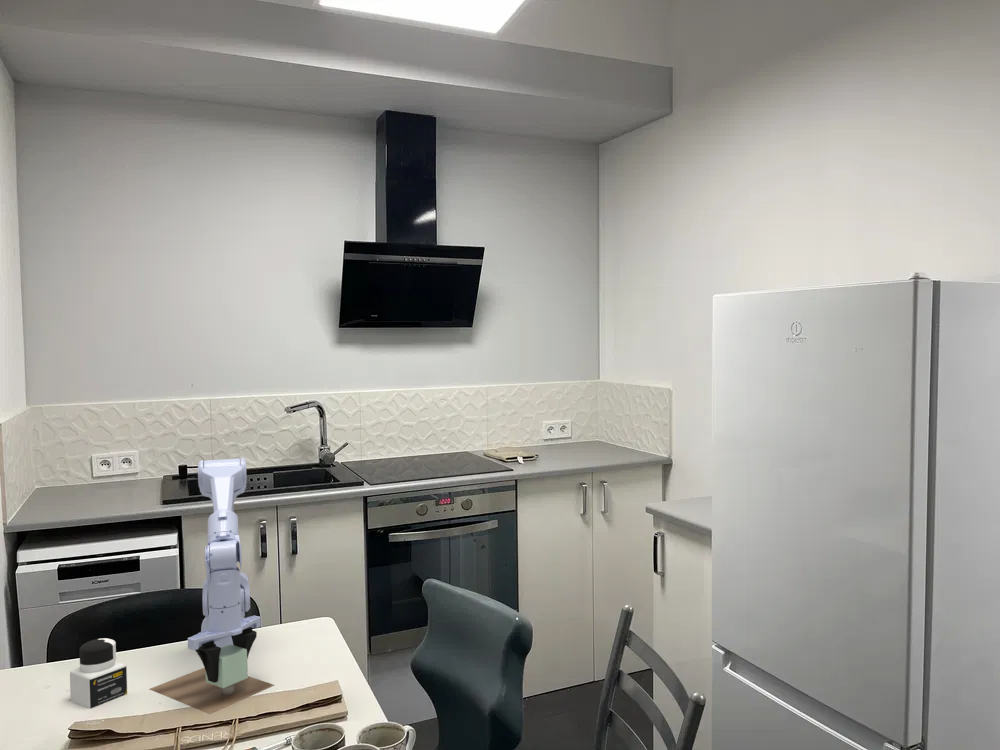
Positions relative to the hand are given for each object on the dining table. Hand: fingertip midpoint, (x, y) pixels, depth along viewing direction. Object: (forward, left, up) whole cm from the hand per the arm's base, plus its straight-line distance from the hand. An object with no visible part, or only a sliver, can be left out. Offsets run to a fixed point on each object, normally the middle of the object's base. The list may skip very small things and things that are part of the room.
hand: (226, 675), depth 139 cm
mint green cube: (0, 0, -1) cm, 1 cm away
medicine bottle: (-20, -14, -5) cm, 25 cm away
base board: (-5, 0, -5) cm, 7 cm away
